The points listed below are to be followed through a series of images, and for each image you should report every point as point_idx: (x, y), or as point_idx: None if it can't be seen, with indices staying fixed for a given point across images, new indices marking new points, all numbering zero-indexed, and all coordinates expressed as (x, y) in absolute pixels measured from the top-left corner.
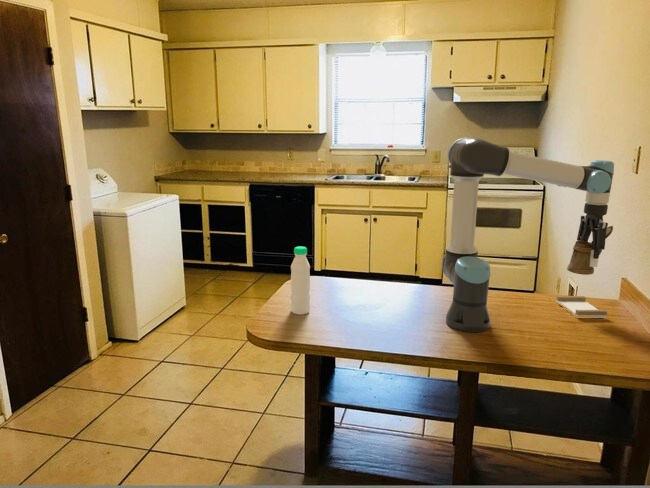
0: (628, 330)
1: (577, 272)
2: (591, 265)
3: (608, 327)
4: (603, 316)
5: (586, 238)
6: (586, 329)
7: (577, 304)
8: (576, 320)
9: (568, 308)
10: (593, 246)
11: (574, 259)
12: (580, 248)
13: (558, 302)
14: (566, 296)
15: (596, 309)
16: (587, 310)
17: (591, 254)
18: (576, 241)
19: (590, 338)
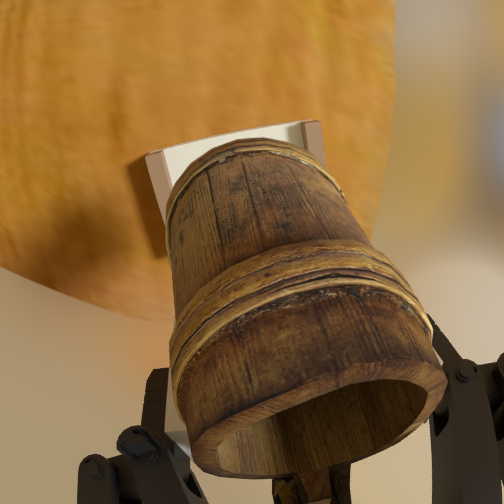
0: (107, 280)
1: (173, 191)
2: None
3: (108, 234)
4: None
5: (439, 454)
6: (69, 163)
7: None
8: (136, 146)
9: (216, 136)
10: (164, 471)
11: (223, 199)
12: (191, 341)
13: (294, 122)
14: (320, 160)
15: None
16: (165, 195)
17: (170, 382)
18: (422, 367)
19: (16, 163)
